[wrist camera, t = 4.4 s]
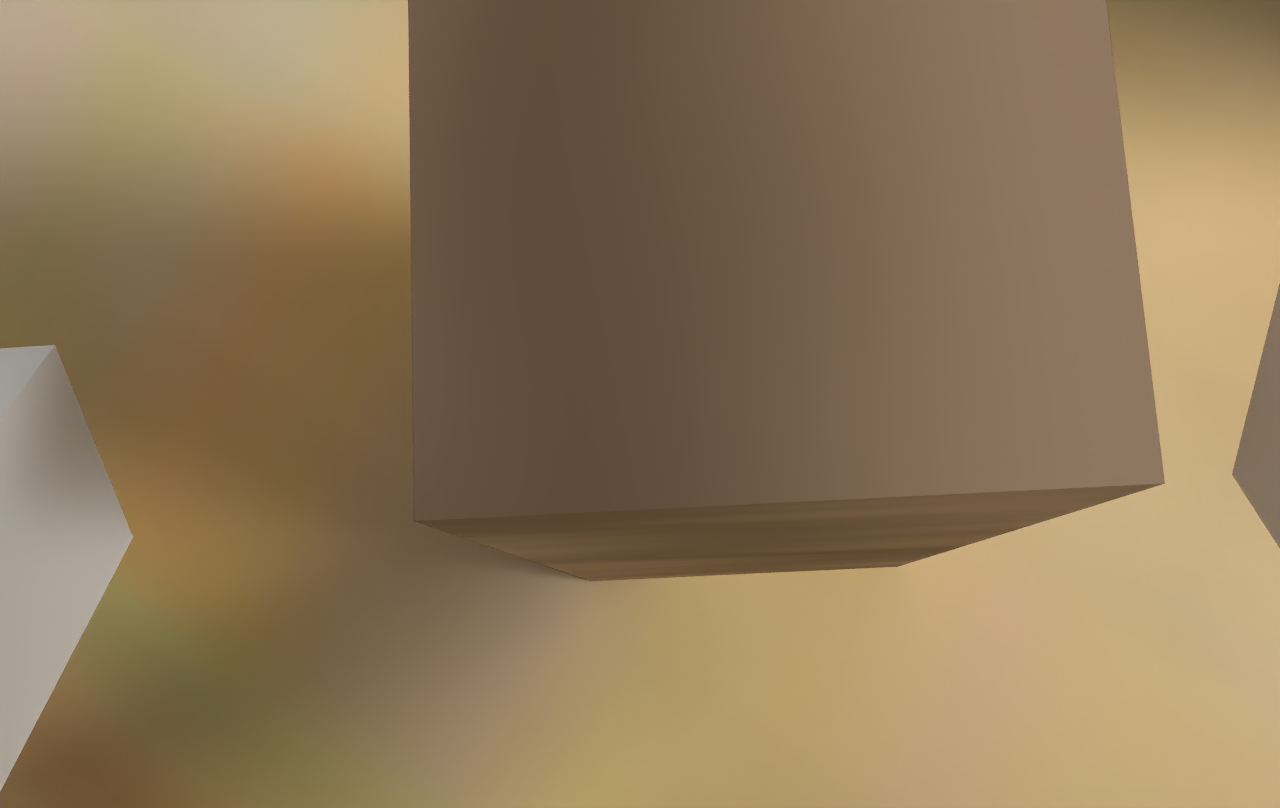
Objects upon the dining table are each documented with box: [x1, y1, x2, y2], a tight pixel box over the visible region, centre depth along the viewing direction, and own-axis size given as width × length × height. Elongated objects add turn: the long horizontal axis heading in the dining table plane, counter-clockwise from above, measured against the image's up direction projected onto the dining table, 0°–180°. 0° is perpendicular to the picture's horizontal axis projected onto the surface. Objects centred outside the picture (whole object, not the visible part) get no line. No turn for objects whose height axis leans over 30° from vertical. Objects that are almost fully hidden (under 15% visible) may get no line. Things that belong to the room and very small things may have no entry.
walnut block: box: [408, 0, 1165, 581], centre depth 15 cm, size 5×5×12 cm
